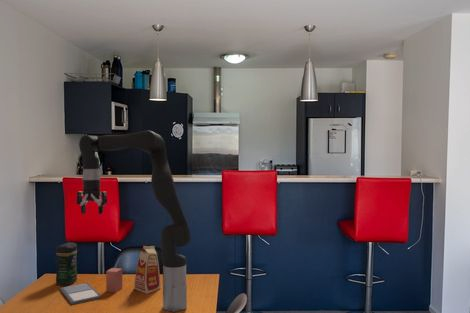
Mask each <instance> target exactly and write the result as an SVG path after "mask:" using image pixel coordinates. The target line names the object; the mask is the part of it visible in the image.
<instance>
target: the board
mask: <svg viewBox="0 0 470 313" xmlns="http://www.w3.org/2000/svg"><path fill="white" fill-rule="evenodd" d="M59 290H60V292H61V293H62V295H64V297H65V298H66V300H68V302H69V303H70V305H76V304H81V303H82V304H83V303H86V302H90V301H94V300H95V301H96V300H100V299H102V295H101V294H100V293H99V292H98V291H97V290H96V289H95V288H94V287H93V286H92V285H91V284H90V283H89V282H85V283H80V284H73V285H70V286H69V285H67V286H63V287H60V288H59Z"/></svg>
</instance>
